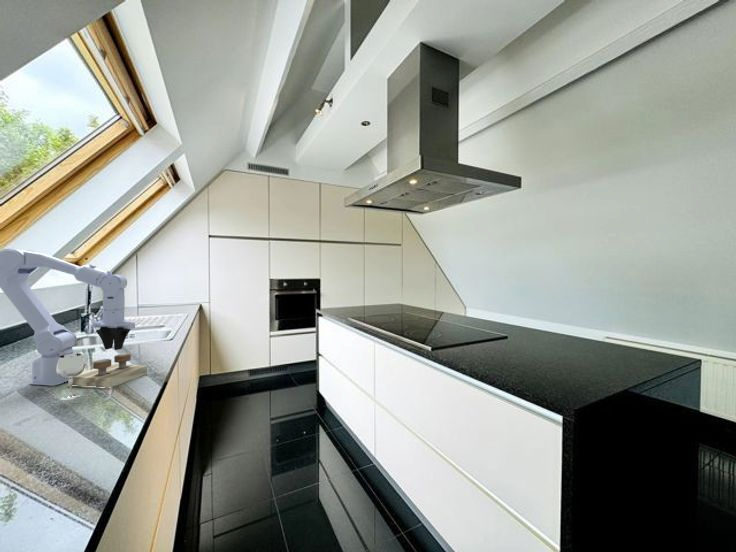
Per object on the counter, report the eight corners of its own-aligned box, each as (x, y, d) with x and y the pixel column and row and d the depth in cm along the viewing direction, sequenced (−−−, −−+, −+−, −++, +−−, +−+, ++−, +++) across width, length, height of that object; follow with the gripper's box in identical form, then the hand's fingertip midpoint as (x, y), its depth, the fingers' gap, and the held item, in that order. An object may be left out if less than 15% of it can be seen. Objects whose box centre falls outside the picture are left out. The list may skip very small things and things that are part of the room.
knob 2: (110, 371, 102) (110, 356, 102) (122, 367, 107) (122, 352, 107) (122, 371, 102) (122, 356, 102) (133, 367, 106) (134, 353, 106)
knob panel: (68, 386, 95) (68, 376, 95) (111, 371, 109) (111, 363, 109) (108, 388, 93) (108, 379, 93) (146, 373, 107) (146, 365, 107)
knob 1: (89, 378, 96) (89, 361, 95) (103, 373, 100) (103, 358, 100) (101, 378, 95) (101, 362, 95) (114, 374, 99) (115, 358, 99)
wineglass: (51, 399, 85) (51, 357, 85) (77, 392, 90) (77, 352, 90) (63, 403, 83) (63, 359, 83) (89, 395, 88) (89, 354, 88)
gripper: (83, 310, 101) (82, 351, 101) (121, 311, 99) (121, 352, 99) (103, 308, 108) (103, 346, 108) (140, 309, 106) (140, 347, 106)
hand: (113, 349), depth 104 cm, fingers open, 3 cm apart
